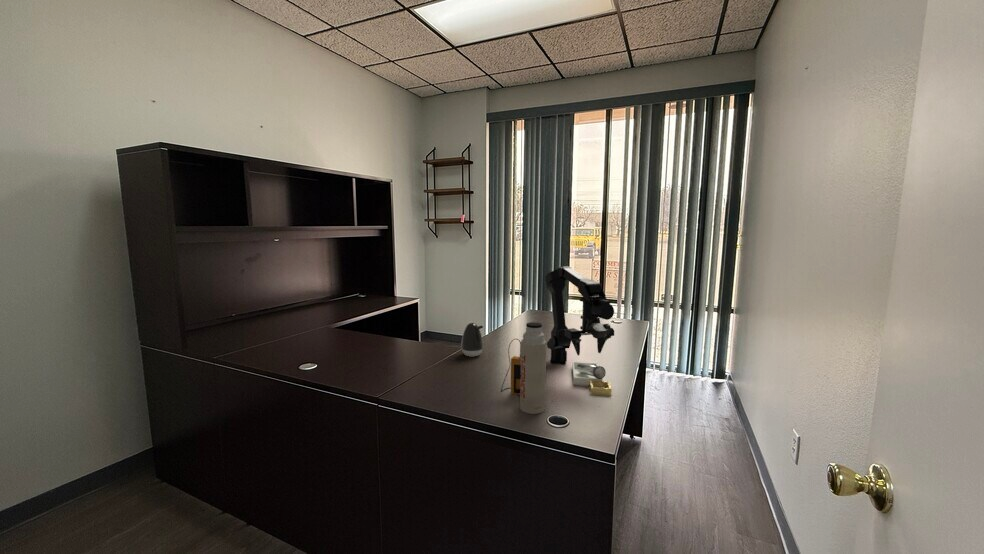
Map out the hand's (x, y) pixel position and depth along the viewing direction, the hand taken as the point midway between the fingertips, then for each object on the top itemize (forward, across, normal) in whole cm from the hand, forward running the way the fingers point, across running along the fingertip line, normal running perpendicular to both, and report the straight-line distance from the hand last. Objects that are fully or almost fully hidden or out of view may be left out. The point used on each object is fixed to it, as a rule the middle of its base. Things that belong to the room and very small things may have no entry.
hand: (588, 354), depth 151 cm
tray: (+10, 0, +1) cm, 10 cm away
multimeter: (+10, -28, -3) cm, 30 cm away
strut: (+7, 0, +5) cm, 9 cm away
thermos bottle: (+10, -31, -18) cm, 37 cm away
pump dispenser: (+10, -36, +41) cm, 55 cm away
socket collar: (+10, -2, -12) cm, 16 cm away
